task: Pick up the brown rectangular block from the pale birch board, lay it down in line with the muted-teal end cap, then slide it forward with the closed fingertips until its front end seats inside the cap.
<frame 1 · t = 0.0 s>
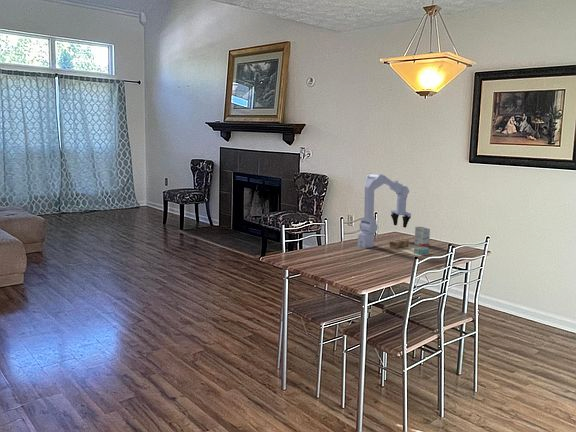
hand: (400, 226, 315), 10 cm above the table, fingers open, 7 cm apart
ink box: (421, 247, 306), on the table
end cap: (421, 253, 285), resting on board
board: (410, 252, 291), on the table
brown rectangular block: (398, 247, 298), point 1 cm above the table, touching board
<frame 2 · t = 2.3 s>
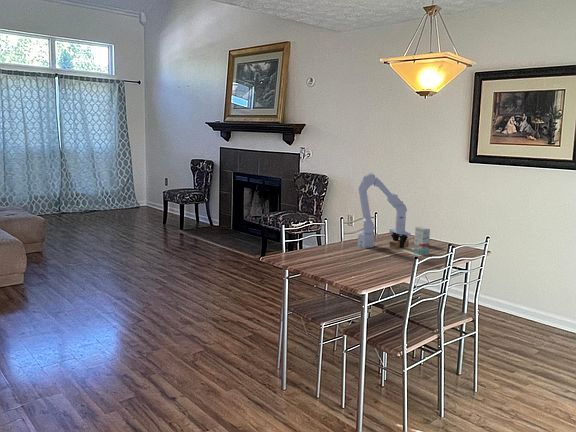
hand: (399, 246, 298), 2 cm above the table, fingers closed on brown rectangular block, 4 cm apart
brown rectangular block: (398, 247, 298), point 1 cm above the table, touching board, gripper
everything else where it was.
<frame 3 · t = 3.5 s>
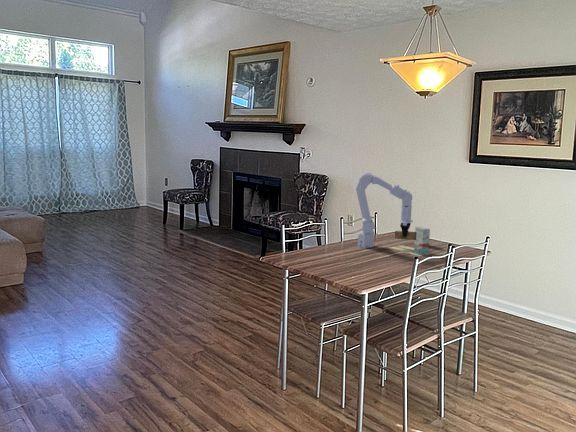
hand: (404, 235, 294), 9 cm above the table, fingers closed on brown rectangular block, 4 cm apart
brown rectangular block: (405, 238, 294), point 7 cm above the table, touching gripper
everything else where it was.
when the fingers open (3 cm above the table, at t = 4.8 s): brown rectangular block stays where it is, resting on board.
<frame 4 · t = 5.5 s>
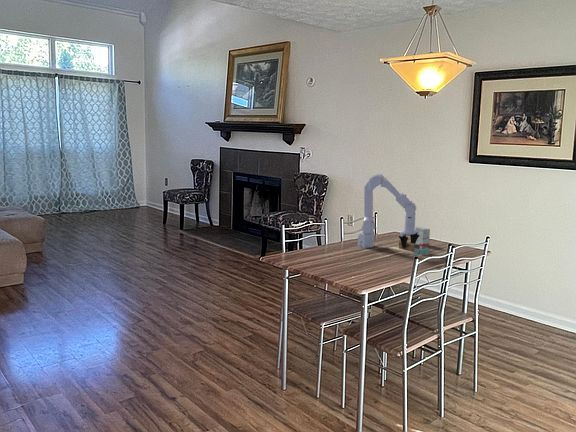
hand: (408, 247, 292), 3 cm above the table, fingers open, 7 cm apart
brown rectangular block: (408, 250, 292), point 1 cm above the table, touching board
everything else where it was.
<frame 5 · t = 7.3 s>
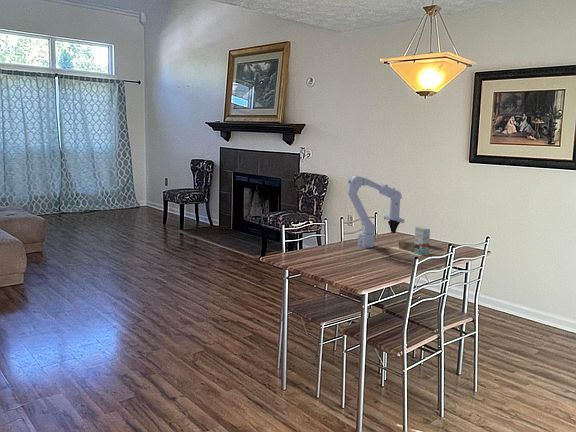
hand: (393, 232, 301), 9 cm above the table, fingers closed
nothing on the table moved.
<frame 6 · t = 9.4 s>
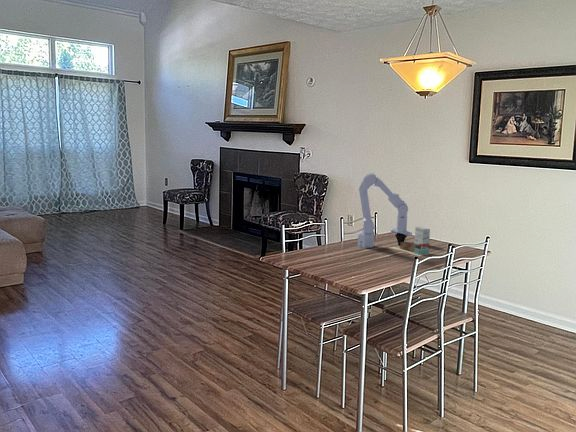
hand: (400, 246, 297), 2 cm above the table, fingers closed
brown rectangular block: (410, 250, 291), point 1 cm above the table, touching board, gripper
everything else where it was.
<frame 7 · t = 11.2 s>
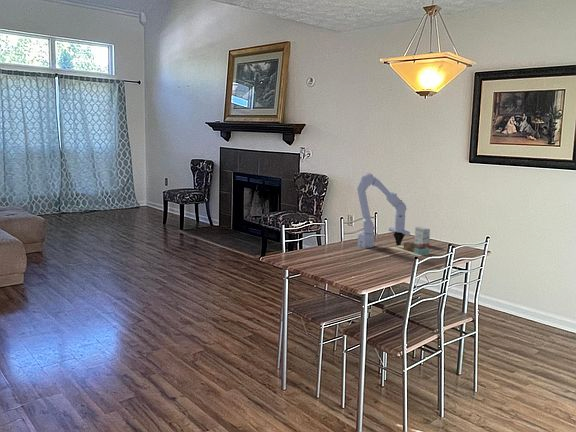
hand: (398, 245, 298), 2 cm above the table, fingers closed
brown rectangular block: (413, 251, 289), point 1 cm above the table, touching board
everything else where it was.
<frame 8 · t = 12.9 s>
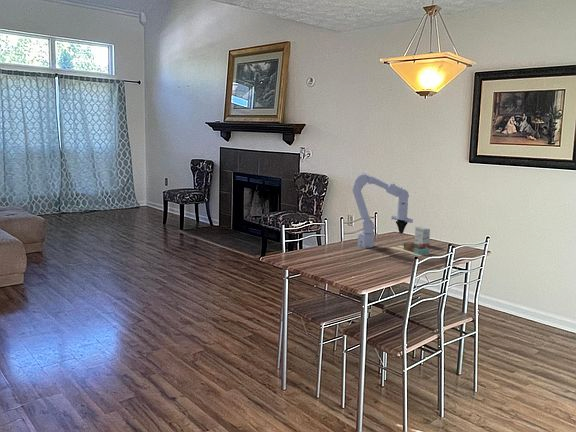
hand: (401, 233, 296), 10 cm above the table, fingers closed
nothing on the table moved.
at the end: brown rectangular block 0.2 cm from the target spot, point 1.0 cm above the table; brown rectangular block tilted 0°; the gripper is holding nothing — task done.
